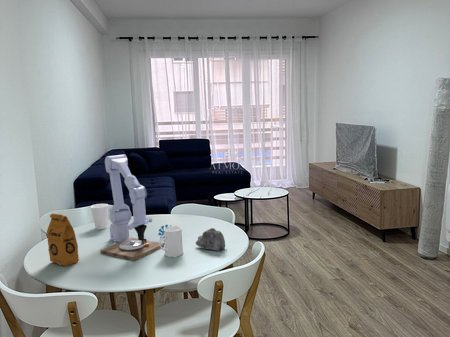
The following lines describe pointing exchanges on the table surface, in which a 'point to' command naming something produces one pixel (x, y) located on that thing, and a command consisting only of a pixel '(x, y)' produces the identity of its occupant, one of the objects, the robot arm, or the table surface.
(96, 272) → the table surface
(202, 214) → the table surface
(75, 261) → the coffee package
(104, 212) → the foam cup
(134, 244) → the flange
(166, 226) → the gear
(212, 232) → the mineral rock
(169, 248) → the mug
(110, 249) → the base board
